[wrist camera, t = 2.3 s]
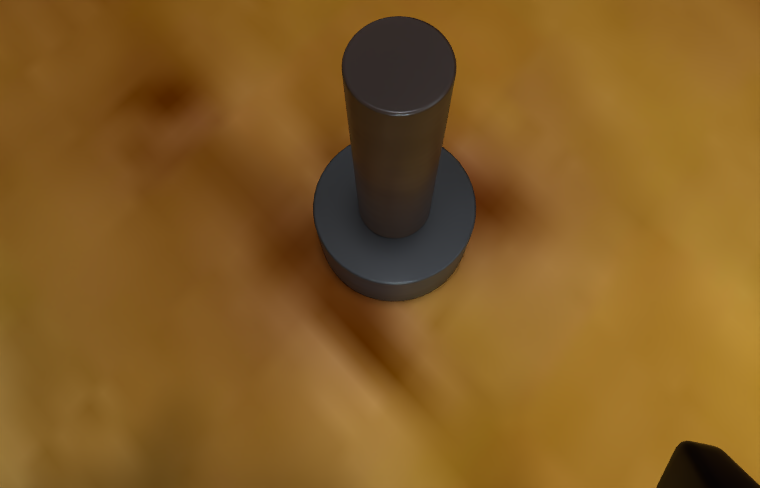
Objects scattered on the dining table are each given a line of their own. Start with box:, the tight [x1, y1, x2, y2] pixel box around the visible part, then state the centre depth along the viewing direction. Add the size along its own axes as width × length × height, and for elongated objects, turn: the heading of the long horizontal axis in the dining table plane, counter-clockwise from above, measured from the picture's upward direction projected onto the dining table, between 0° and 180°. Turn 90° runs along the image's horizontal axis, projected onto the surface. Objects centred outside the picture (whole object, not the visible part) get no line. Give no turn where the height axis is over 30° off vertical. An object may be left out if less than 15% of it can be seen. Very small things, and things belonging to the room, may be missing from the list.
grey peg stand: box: [313, 16, 476, 301], centre depth 17 cm, size 5×5×10 cm
